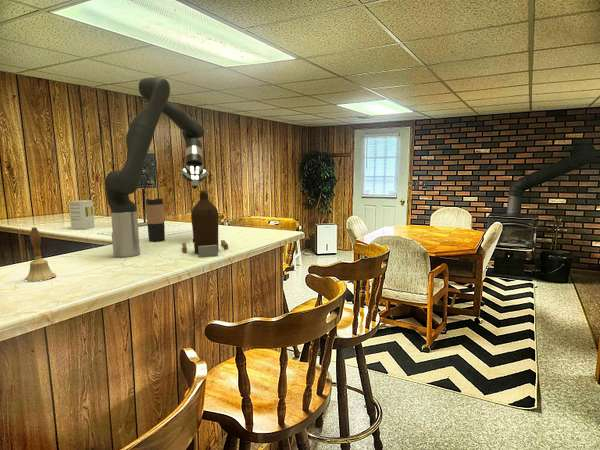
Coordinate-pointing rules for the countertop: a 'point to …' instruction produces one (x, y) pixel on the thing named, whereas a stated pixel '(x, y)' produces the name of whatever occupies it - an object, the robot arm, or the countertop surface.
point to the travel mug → (155, 220)
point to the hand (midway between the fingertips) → (195, 187)
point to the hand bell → (38, 261)
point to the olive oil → (204, 222)
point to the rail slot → (221, 244)
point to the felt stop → (208, 250)
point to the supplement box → (81, 214)
